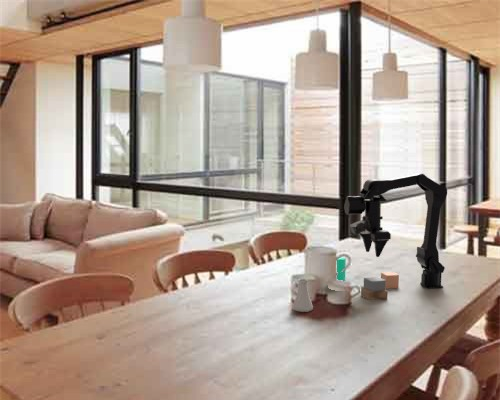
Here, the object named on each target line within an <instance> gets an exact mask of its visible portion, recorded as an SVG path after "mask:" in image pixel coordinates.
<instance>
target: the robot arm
mask: <svg viewBox="0 0 500 400" xmlns="http://www.w3.org/2000/svg"><path fill="white" fill-rule="evenodd" d="M412 186H418V187H419V188H420V189H421V190H422V191H424V197H425V201H426V202H425V203H426V206H427V209H426V218H425V225H424V234H423V240H422V241H423V242H422V244H421V246H417V247H416V254H415V257H416V260H417V262H418V264H419V265H420V267H421V269H422V273H421V277H420V278H421V280H420V283H419V285H421V286H423V287H425V288H427V289H440V288H443V289H444V286H443V285H442V275H443V273H444V272H445V268H446V267H445V266H444V265H443V264H442V263H441V262H440V257H439V251H438V247H437V242H438V232H439V224H440V216H441V209H442V207H443V206H444V204H445V202H446V200H447V196H448V188H447V187H446V186H445V185H444V184H441V183H438V182H436V181H434V180H433V179H431V178H430V177H428V176H427V175H425V174H424V173H420V172H419V173H418V172H416V173H414V174H409V175H404V176H399V177H393V178H387V179H381V178H380V179H375V178H374V179H373V178H372V179H366V180H365V182H364V183H363V187H362V189H360V191H359V193H358V194H357V195H353V196H352V195H347V196H346V197H345V198H346V199H345V202H344V205H343V206H344V207H343V208H344V213H345V214H346V215H362V214H363V213H364V215H363V216H362V219H361V220H359V221H358V220H357V221H355V222H353V223H350V224H349V228H350V231H351V233H352V234H354V235H359V236H360V237H361V239H362V242H363V245H364V248H365V252H366V253H369V252H370V250H371V248H372V243H373V244H374V250H375V251H374V252H375V256H376V257H375V258H380V256H381V254H382V252H383V250H384V248H385V246H386V244H387V243H388V241H390V240H391V238H392V237H391V236H392V234H391V233H390V232H389V231H388V230H385V229H384V228H383V227H382V226H381V224H382V223H381V222H382V221H381V220H383V218H384V217H383V216H382V214H381V213H382V212H381V209H382V208H381V207H382V205H381V204H382V203H381V202H387V199H386V198H385V197H384V196H383V195H384V194H385V193H388V192H389V191H392V190H396V189H402V188H407V187H412Z"/></svg>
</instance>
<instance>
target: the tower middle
mask: <svg viewBox="0 0 500 400" xmlns="http://www.w3.org/2000/svg"><path fill="white" fill-rule="evenodd" d="M385 285H386V280H384V279H381V277H379V276H369V277H363V286H364V288H366V289H368V290H370V291H380V290H385V289H386V288H385Z"/></svg>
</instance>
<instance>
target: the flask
mask: <svg viewBox="0 0 500 400" xmlns="http://www.w3.org/2000/svg"><path fill="white" fill-rule="evenodd" d="M297 282H298V289H297V293H296V296H295V299H294V302H293V304H292V308H291V310H292V311H295V312H301V313H302V312H303V313H305V312H306V313H308V312H311V311H313V309H314V306H313V303H312V300H311V298H310V294H309V290H308V286H307V285H308V279H306V278H299V279H297Z"/></svg>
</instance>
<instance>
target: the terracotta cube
mask: <svg viewBox="0 0 500 400" xmlns="http://www.w3.org/2000/svg"><path fill="white" fill-rule="evenodd" d="M399 277H400V274H398V273H396V272H394V271H383V272H380V278H381V279H384V280H386V285H385V289H393V288H394V289H396V288H399V280H400V278H399Z"/></svg>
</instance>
